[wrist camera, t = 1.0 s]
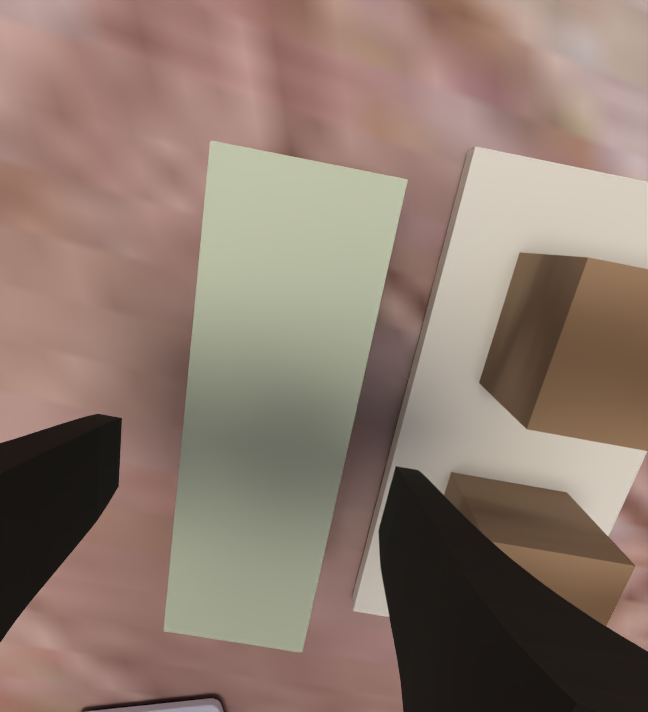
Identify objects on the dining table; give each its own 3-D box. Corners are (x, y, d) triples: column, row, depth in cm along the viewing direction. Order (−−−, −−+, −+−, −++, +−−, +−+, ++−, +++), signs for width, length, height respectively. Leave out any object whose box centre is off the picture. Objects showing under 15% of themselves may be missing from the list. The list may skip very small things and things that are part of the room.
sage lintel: (309, 550, 19) (302, 652, 15) (205, 533, 19) (163, 631, 14) (383, 198, 15) (407, 179, 10) (249, 171, 15) (210, 140, 10)
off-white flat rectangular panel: (550, 628, 20) (558, 644, 19) (352, 596, 20) (353, 611, 19) (737, 206, 15) (760, 204, 14) (467, 151, 14) (475, 146, 14)
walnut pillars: (528, 586, 18) (580, 677, 15) (421, 568, 18) (445, 656, 14) (654, 278, 15) (769, 293, 11) (519, 252, 14) (588, 257, 11)
